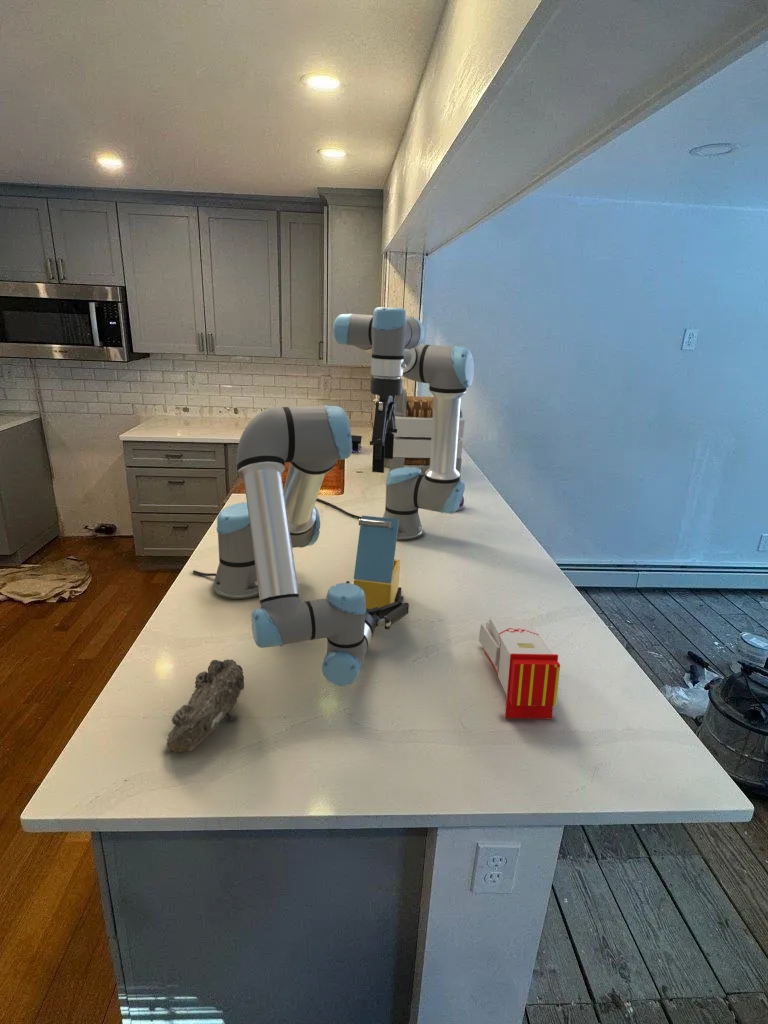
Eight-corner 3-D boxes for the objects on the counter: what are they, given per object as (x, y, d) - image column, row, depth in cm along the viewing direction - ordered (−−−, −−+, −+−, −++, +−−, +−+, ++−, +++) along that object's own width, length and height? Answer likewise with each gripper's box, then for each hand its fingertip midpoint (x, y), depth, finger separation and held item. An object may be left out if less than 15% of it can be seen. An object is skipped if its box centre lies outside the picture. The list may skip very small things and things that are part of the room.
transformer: (382, 463, 289) (386, 382, 275) (445, 464, 293) (451, 384, 279) (390, 482, 257) (394, 392, 243) (460, 483, 261) (468, 394, 247)
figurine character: (361, 456, 305) (361, 447, 319) (361, 443, 302) (362, 434, 315) (348, 456, 305) (350, 446, 318) (349, 442, 302) (350, 433, 315)
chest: (365, 587, 160) (366, 555, 157) (398, 592, 159) (400, 559, 156) (352, 615, 146) (353, 580, 143) (389, 619, 145) (391, 585, 141)
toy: (525, 603, 136) (569, 660, 107) (520, 654, 139) (562, 725, 109) (475, 601, 135) (505, 659, 106) (471, 653, 138) (499, 724, 109)
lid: (362, 515, 145) (356, 510, 137) (398, 519, 144) (395, 514, 135) (354, 579, 143) (347, 577, 135) (391, 583, 141) (387, 582, 133)
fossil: (192, 660, 117) (244, 628, 112) (224, 691, 120) (276, 661, 115) (142, 746, 98) (202, 712, 93) (182, 779, 101) (242, 748, 96)
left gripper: (301, 639, 129) (326, 596, 148) (410, 654, 125) (420, 607, 145) (301, 610, 126) (326, 570, 146) (412, 624, 122) (422, 581, 142)
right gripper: (394, 384, 121) (389, 480, 128) (409, 372, 144) (404, 454, 151) (359, 382, 122) (357, 477, 129) (380, 371, 145) (377, 452, 152)
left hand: (373, 588), depth 145 cm, fingers open, 13 cm apart
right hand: (382, 465), depth 140 cm, fingers open, 13 cm apart
